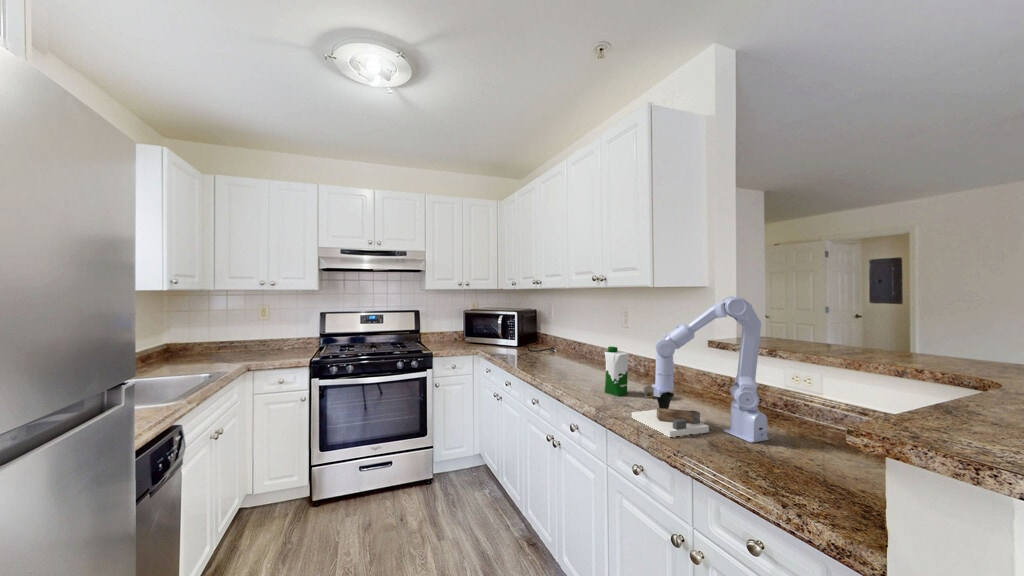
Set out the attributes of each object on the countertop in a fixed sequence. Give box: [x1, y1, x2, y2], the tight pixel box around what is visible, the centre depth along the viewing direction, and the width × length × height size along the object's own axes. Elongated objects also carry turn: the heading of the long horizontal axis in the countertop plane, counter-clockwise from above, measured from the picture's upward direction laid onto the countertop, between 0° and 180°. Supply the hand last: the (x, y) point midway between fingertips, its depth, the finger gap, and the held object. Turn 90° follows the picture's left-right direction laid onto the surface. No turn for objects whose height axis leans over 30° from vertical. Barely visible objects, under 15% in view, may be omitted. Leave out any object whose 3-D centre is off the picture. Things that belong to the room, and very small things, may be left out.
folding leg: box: [656, 407, 701, 423], centre depth 120 cm, size 13×3×3 cm, turn 81°
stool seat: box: [631, 409, 710, 438], centre depth 122 cm, size 18×16×4 cm
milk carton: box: [604, 346, 630, 397], centre depth 159 cm, size 9×9×20 cm
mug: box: [643, 384, 656, 399], centre depth 155 cm, size 8×10×10 cm
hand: (663, 413), depth 124 cm, fingers closed
